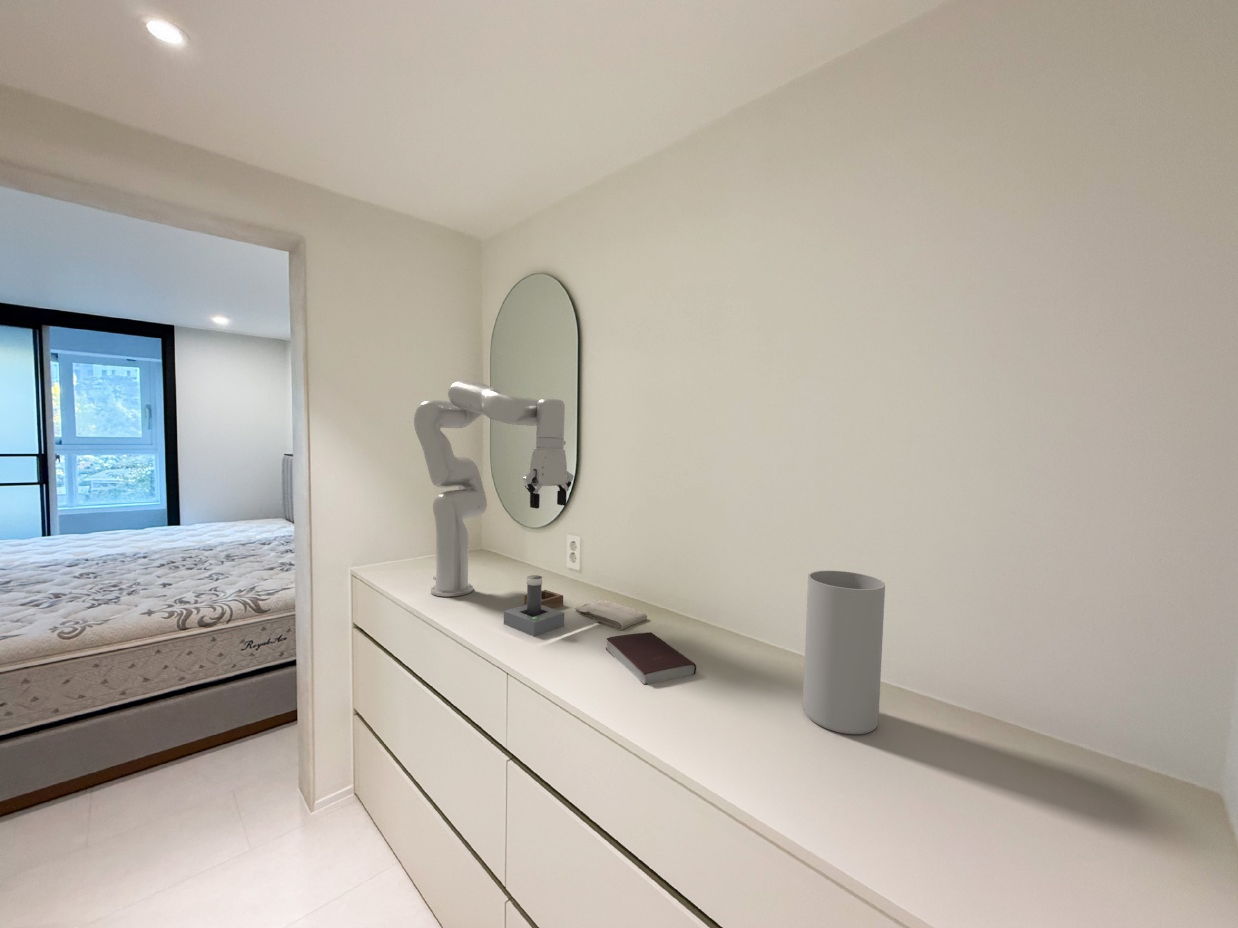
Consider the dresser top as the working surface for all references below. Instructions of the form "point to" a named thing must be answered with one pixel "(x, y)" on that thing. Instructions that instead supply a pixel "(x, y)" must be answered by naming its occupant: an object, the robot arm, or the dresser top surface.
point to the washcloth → (612, 614)
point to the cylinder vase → (843, 651)
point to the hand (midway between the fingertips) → (548, 506)
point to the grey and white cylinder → (534, 595)
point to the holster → (550, 599)
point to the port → (533, 620)
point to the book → (649, 657)
